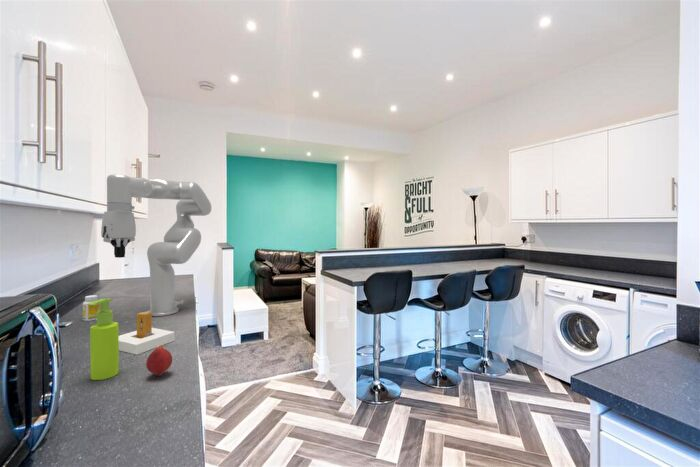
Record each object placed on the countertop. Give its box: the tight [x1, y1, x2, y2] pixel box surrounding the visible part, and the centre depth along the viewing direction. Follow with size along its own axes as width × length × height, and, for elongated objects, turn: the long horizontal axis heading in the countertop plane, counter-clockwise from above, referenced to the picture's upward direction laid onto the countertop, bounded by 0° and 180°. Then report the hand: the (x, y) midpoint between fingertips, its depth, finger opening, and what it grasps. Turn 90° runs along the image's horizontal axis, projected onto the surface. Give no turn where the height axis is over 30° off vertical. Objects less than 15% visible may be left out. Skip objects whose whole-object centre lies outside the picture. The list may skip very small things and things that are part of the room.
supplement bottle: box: [82, 294, 100, 322], centre depth 132 cm, size 5×5×10 cm
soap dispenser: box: [87, 297, 120, 381], centre depth 83 cm, size 6×7×20 cm
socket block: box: [119, 327, 176, 355], centre depth 105 cm, size 13×13×3 cm
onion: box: [145, 345, 173, 377], centre depth 84 cm, size 6×6×8 cm
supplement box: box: [136, 311, 153, 339], centre depth 106 cm, size 3×3×10 cm
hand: (119, 257), depth 120 cm, fingers closed
